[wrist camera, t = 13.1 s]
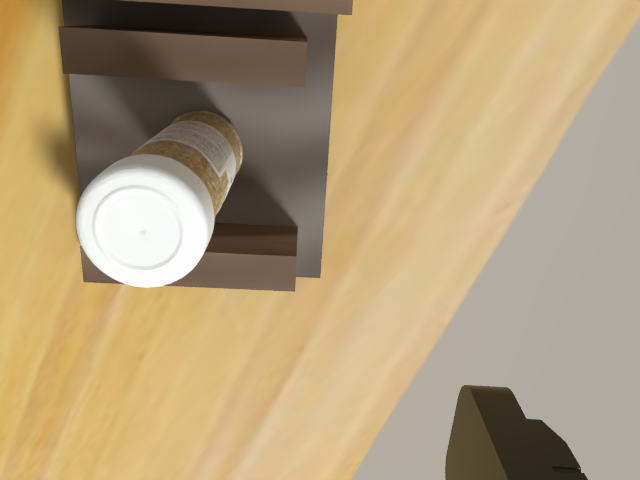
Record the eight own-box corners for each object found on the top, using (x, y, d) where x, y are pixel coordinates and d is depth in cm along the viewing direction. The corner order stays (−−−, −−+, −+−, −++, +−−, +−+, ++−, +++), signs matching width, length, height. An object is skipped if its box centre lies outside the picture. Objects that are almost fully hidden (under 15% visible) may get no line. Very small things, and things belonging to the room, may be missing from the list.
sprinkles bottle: (209, 204, 34) (151, 315, 21) (145, 151, 32) (44, 234, 20) (261, 147, 32) (234, 227, 20) (197, 89, 31) (125, 136, 19)
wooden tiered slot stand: (69, -45, 30) (-73, -79, 19) (338, -27, 31) (356, -50, 19) (95, 257, 36) (0, 366, 25) (319, 267, 37) (324, 379, 26)
